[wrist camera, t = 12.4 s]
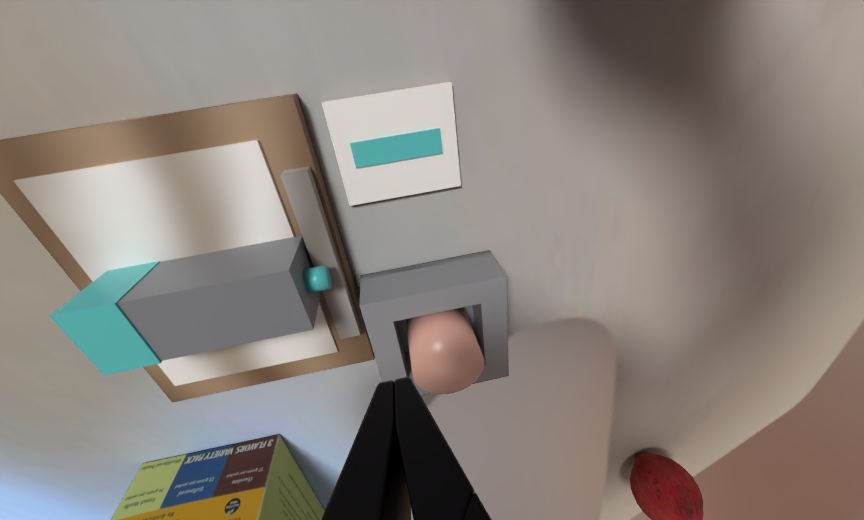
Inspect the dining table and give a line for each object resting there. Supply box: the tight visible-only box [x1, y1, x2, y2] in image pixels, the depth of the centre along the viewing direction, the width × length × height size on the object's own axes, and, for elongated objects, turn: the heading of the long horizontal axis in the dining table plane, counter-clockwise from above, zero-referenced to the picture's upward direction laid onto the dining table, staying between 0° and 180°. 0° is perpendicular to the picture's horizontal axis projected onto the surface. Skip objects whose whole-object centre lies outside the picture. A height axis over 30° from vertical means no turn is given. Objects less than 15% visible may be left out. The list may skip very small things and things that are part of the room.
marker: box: [50, 236, 332, 375], centre depth 16 cm, size 10×4×4 cm, turn 98°
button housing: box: [359, 250, 509, 395], centre depth 22 cm, size 8×8×3 cm
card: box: [322, 82, 461, 206], centre depth 17 cm, size 6×5×1 cm
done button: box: [406, 307, 484, 394], centre depth 20 cm, size 4×4×4 cm
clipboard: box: [0, 93, 374, 402], centre depth 18 cm, size 13×16×2 cm
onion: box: [630, 453, 703, 520], centre depth 34 cm, size 6×6×8 cm
